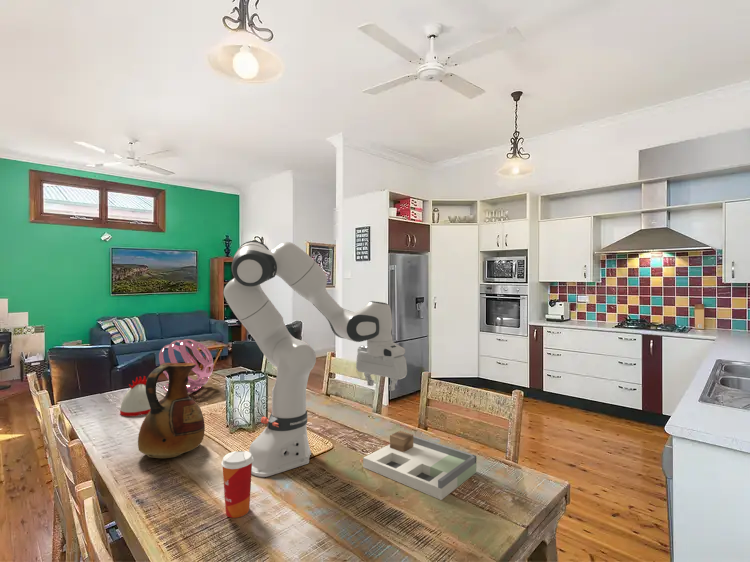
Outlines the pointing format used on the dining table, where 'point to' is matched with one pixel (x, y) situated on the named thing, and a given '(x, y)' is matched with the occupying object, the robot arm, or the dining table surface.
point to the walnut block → (401, 441)
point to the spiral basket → (190, 359)
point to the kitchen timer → (135, 399)
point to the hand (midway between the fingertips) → (380, 387)
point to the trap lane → (424, 466)
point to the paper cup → (237, 482)
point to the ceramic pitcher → (171, 415)
